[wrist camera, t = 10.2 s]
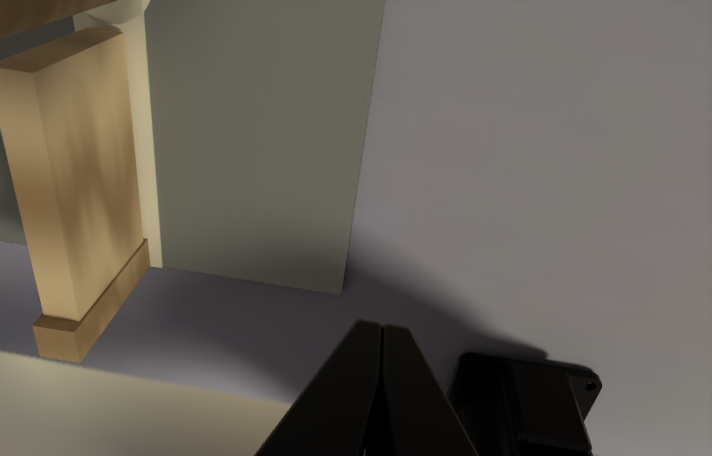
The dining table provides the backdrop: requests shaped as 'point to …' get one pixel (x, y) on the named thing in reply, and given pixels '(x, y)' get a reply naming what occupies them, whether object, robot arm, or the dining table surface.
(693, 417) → the dining table surface
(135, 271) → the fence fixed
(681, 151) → the dining table surface
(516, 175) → the dining table surface
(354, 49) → the card
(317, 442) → the robot arm
